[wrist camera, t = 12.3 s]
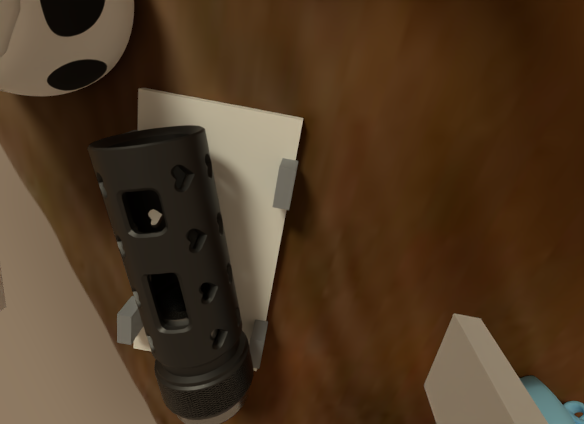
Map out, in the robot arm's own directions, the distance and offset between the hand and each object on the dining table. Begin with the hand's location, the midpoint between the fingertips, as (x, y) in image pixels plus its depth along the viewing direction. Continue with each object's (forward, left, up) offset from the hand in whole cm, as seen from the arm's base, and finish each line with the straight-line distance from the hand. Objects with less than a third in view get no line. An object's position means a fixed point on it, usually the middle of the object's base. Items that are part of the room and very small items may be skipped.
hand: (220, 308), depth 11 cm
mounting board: (+14, -7, -29) cm, 33 cm away
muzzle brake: (+14, -7, -26) cm, 30 cm away
